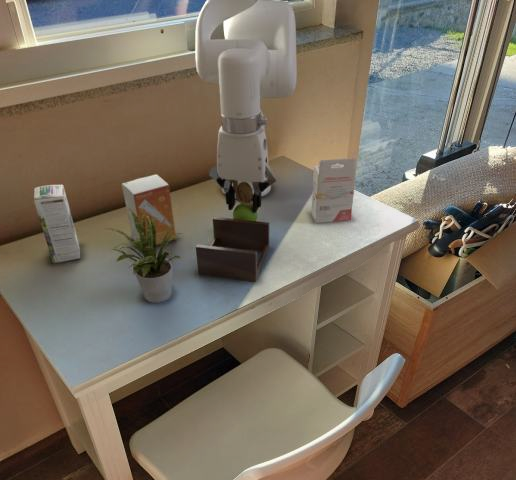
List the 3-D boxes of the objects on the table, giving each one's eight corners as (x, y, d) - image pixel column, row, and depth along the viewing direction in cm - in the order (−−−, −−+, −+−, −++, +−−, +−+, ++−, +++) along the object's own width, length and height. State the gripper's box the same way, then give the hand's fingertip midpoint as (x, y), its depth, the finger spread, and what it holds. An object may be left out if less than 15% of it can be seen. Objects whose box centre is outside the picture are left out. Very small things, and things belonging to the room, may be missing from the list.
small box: (143, 250, 111) (132, 194, 102) (131, 238, 115) (120, 182, 106) (177, 239, 114) (169, 184, 105) (164, 227, 118) (156, 173, 109)
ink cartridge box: (345, 210, 123) (352, 149, 113) (351, 220, 119) (358, 158, 109) (310, 213, 122) (314, 151, 112) (314, 223, 118) (319, 161, 109)
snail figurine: (243, 216, 118) (241, 165, 110) (262, 226, 114) (262, 174, 106) (225, 224, 115) (222, 173, 107) (244, 235, 112) (242, 182, 104)
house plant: (103, 288, 101) (83, 213, 90) (165, 264, 107) (153, 190, 96) (137, 325, 93) (119, 247, 81) (202, 296, 99) (193, 220, 87)
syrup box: (52, 250, 112) (31, 187, 102) (80, 245, 113) (62, 182, 103) (53, 264, 108) (31, 199, 98) (82, 259, 109) (63, 195, 99)
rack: (216, 243, 113) (213, 216, 108) (269, 249, 111) (269, 222, 106) (198, 274, 104) (195, 246, 100) (256, 282, 102) (255, 254, 97)
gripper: (287, 118, 101) (285, 204, 113) (205, 113, 104) (211, 197, 116) (279, 132, 96) (278, 220, 108) (193, 126, 99) (201, 212, 111)
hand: (243, 207), depth 112 cm, fingers closed on snail figurine, 4 cm apart
